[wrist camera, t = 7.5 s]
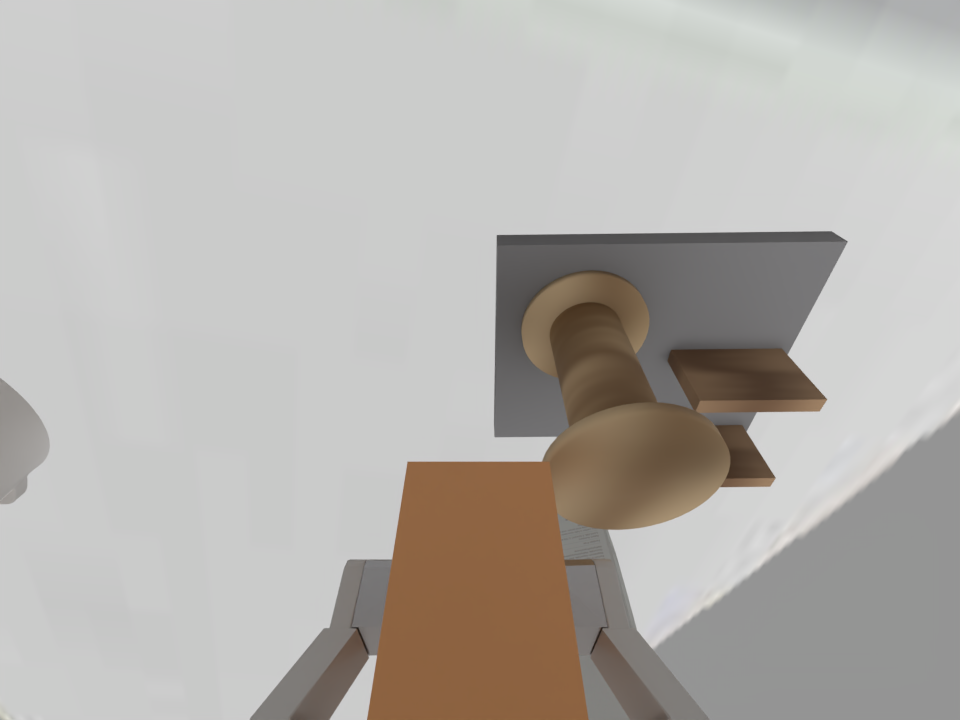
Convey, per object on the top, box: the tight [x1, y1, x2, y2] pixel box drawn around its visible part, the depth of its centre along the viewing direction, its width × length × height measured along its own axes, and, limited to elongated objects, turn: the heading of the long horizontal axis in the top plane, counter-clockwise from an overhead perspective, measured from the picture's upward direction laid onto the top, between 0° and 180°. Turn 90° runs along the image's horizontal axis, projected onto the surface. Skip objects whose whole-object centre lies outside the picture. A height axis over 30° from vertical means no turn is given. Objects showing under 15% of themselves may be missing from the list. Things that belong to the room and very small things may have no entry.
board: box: [494, 231, 848, 437], centre depth 25 cm, size 16×13×1 cm
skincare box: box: [557, 513, 637, 720], centre depth 32 cm, size 8×6×15 cm
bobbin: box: [521, 270, 730, 530], centre depth 19 cm, size 6×6×10 cm
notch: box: [668, 348, 827, 487], centre depth 25 cm, size 6×7×4 cm
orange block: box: [367, 462, 589, 720], centre depth 11 cm, size 4×4×7 cm
